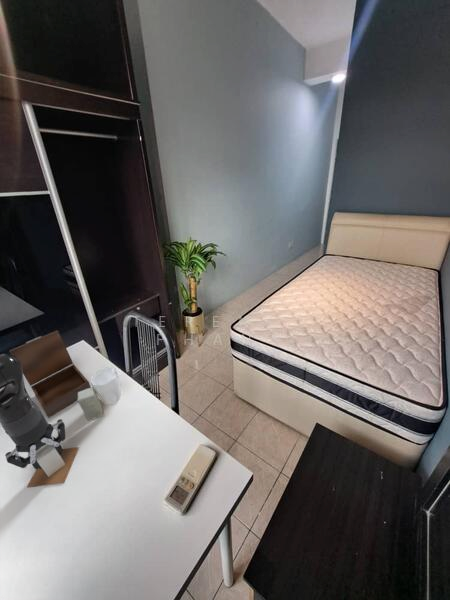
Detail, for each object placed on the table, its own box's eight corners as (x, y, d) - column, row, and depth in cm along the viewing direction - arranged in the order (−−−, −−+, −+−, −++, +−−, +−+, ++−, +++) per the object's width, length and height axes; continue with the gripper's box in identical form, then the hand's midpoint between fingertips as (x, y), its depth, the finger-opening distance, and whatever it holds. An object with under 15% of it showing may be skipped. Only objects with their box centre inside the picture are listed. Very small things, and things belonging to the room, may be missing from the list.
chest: (93, 392, 98) (88, 381, 95) (49, 419, 88) (42, 408, 85) (78, 374, 107) (73, 364, 105) (36, 396, 97) (30, 386, 95)
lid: (57, 330, 97) (53, 327, 101) (9, 351, 87) (7, 346, 91) (73, 363, 104) (69, 359, 108) (30, 386, 94) (27, 380, 98)
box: (103, 407, 91) (94, 385, 86) (104, 416, 88) (94, 394, 83) (87, 413, 89) (77, 391, 84) (87, 422, 86) (77, 401, 81)
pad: (27, 487, 69) (26, 486, 69) (46, 451, 78) (46, 450, 78) (64, 482, 70) (63, 482, 69) (79, 447, 78) (78, 446, 78)
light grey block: (65, 464, 74) (55, 448, 70) (48, 477, 71) (37, 461, 67) (60, 454, 76) (50, 438, 72) (43, 466, 73) (32, 450, 70)
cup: (101, 393, 97) (92, 370, 91) (125, 387, 99) (117, 364, 94) (98, 412, 90) (88, 388, 84) (124, 404, 92) (116, 381, 86)
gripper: (50, 396, 71) (71, 433, 79) (-14, 433, 61) (17, 470, 70) (59, 411, 66) (80, 448, 74) (-8, 453, 57) (24, 490, 65)
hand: (50, 459), depth 72 cm, fingers closed on light grey block, 4 cm apart
